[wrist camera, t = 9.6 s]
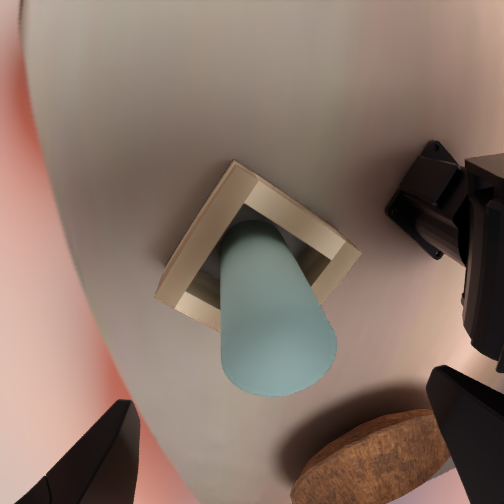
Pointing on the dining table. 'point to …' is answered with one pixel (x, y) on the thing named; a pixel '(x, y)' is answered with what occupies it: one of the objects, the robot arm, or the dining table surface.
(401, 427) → the bowl
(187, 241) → the socket
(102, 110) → the dining table surface
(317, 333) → the peg
